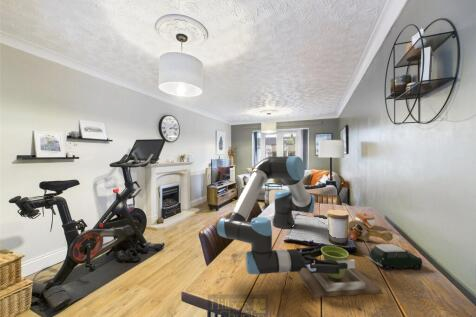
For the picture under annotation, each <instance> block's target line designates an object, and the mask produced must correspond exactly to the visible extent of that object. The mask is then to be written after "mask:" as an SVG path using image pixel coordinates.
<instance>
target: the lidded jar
mask: <svg viewBox="0 0 476 317" xmlns="http://www.w3.org/2000/svg"><path fill="white" fill-rule="evenodd" d="M356 214H359V215H361V216H362V217H363V218H366V219H367V222H369V223H370V224H371V225H372V226H373V227H374V225H375V216H374V215H373V214H369V213H366V212H363V213H361V212H360V213H358V212H357V213H355V214H354V216H355V217H354V218H355V219H354V220H358V221H360V218H359V217H358V216H357V215H356ZM366 225H367V224H366ZM367 226H368V225H367ZM368 227H369V226H368ZM369 228H371V229H372V227H369Z"/></svg>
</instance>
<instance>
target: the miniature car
mask: <svg viewBox="0 0 476 317" xmlns="http://www.w3.org/2000/svg"><path fill="white" fill-rule="evenodd" d="M368 258H369V259H370V260H371V261H373V262H374V263H375V264H376V265H377V266H379V267H382V269H384V270H385V271H386V272H387V271H389V272H390V271H392V268H412V269H413V270H414V271H421V270H422V267H423V265H424V264H423V261H422V258H421V257H418V256H417V255H415V254H413V253H411V252H409V251H408V250H405V248H403V247H400V246H399V245H395V244H391V243H389V244H388V243H387V244H385V243H381V244H380V243H379V244H376V245H375V246H374V247H373V249H371V250H370V252H369V253H368Z"/></svg>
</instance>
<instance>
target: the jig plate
mask: <svg viewBox="0 0 476 317" xmlns="http://www.w3.org/2000/svg"><path fill="white" fill-rule="evenodd" d="M314 264H315V262H314ZM296 273H297V274H298V276H299V277H300V279H301V281H302V282H303V284H304V285H305V286H307V287H306V288H307V289H309V290H308V291H309V293H310V294H311V296H312V297H313V299H314V298H315V299H316V298H324V297H325V298H327V297H341V296H351V295H352V296H353V295H354V296H355V295H365V294H380V293H383V290H382V289H381V288H380V287H379V286H378V285H377V284H375V283H374V282H373V281H371V279H369V278H368V277H367V276H366V275H365V274H363V273H362V272H361V271H359V270H358V269H357V268H356V267H355V268H349V269H345V271H344V277H341V278H339V279H338V278H333V277H330V276H329V275H328V274H327V273H313V274H312V273H310V270H309V269H308V268H302V269H301V271H300V272H296Z"/></svg>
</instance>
